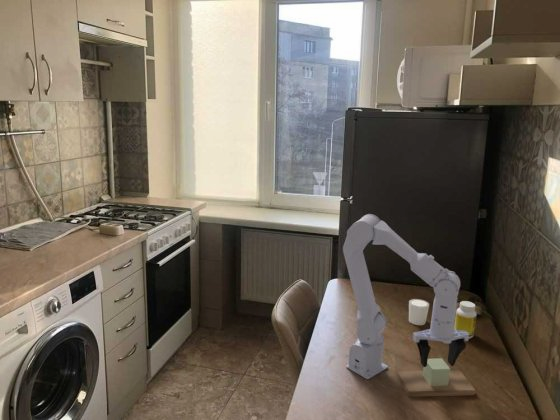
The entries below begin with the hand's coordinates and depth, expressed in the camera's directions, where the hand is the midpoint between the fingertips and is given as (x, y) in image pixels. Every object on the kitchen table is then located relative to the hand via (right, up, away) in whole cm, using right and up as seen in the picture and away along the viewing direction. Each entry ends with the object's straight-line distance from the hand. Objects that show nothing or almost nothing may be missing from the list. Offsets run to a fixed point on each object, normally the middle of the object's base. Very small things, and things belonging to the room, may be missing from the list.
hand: (437, 364), depth 125 cm
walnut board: (0, -6, +2) cm, 6 cm away
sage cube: (0, -5, +1) cm, 5 cm away
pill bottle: (+19, 0, +29) cm, 35 cm away
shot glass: (+6, +2, +38) cm, 38 cm away
